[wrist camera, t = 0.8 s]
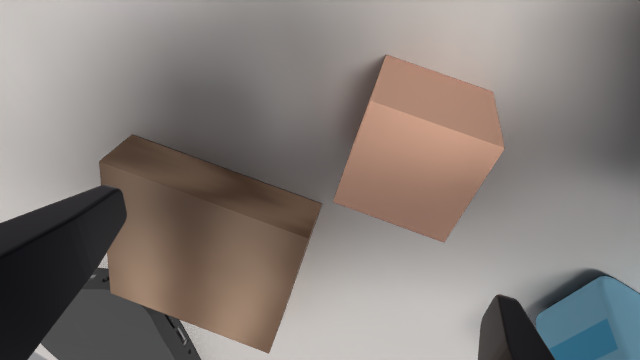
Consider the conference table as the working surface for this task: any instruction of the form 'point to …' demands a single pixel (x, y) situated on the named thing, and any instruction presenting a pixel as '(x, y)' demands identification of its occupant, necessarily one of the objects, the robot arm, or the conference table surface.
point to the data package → (594, 323)
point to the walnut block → (205, 241)
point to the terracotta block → (421, 149)
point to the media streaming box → (115, 328)
